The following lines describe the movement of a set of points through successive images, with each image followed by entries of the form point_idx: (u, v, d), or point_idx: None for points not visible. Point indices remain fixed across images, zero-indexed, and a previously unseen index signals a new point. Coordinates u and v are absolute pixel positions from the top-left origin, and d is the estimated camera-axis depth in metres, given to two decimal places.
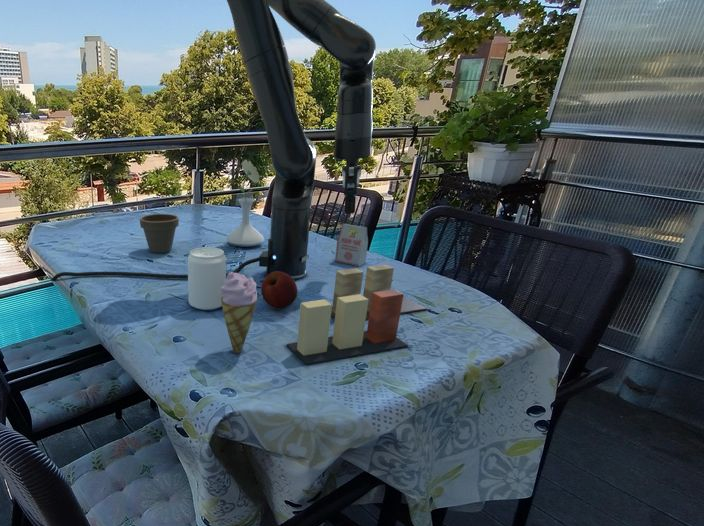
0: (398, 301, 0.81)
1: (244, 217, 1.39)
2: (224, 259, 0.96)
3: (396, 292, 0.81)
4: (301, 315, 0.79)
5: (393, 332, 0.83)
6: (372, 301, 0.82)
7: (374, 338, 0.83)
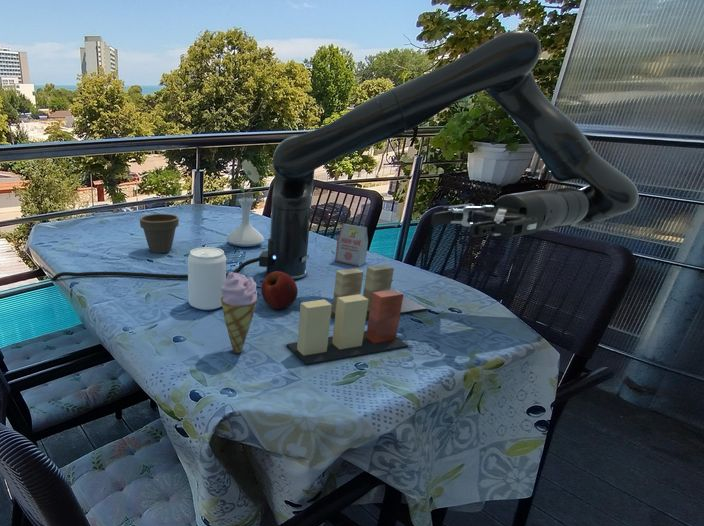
0: (398, 301, 0.81)
1: (244, 217, 1.39)
2: (224, 259, 0.96)
3: (396, 292, 0.81)
4: (301, 315, 0.79)
5: (393, 332, 0.83)
6: (372, 301, 0.82)
7: (374, 338, 0.83)
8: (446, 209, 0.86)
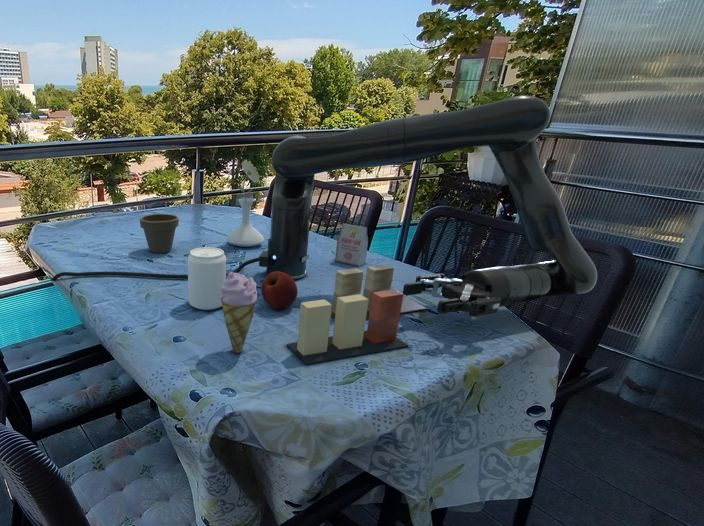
0: (398, 301, 0.81)
1: (244, 217, 1.39)
2: (224, 259, 0.96)
3: (396, 292, 0.81)
4: (301, 315, 0.79)
5: (393, 332, 0.83)
6: (372, 301, 0.82)
7: (374, 338, 0.83)
8: (418, 279, 0.90)
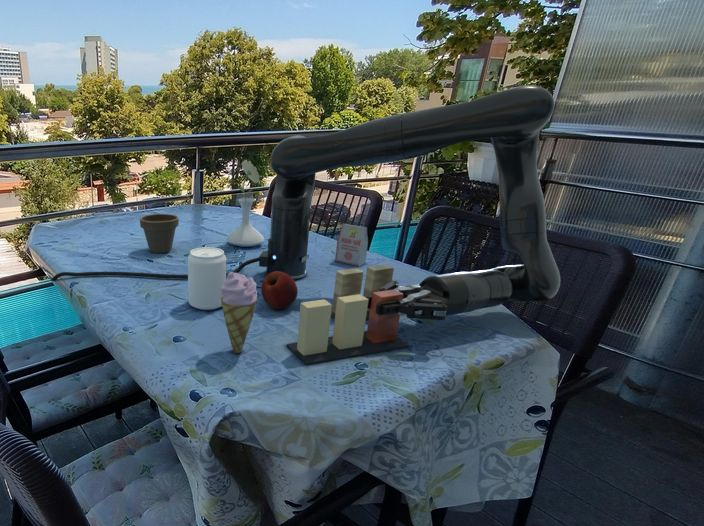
0: None
1: (244, 217, 1.39)
2: (224, 259, 0.96)
3: (396, 292, 0.81)
4: (301, 315, 0.79)
5: (393, 332, 0.83)
6: (372, 301, 0.82)
7: (374, 338, 0.83)
8: None
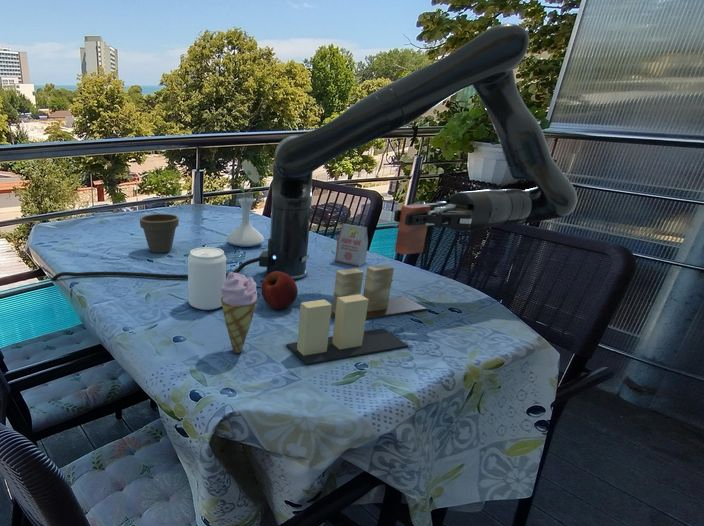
0: None
1: (244, 217, 1.39)
2: (224, 259, 0.96)
3: (424, 205, 0.87)
4: (301, 315, 0.79)
5: (420, 244, 0.89)
6: (401, 214, 0.88)
7: (403, 249, 0.89)
8: None
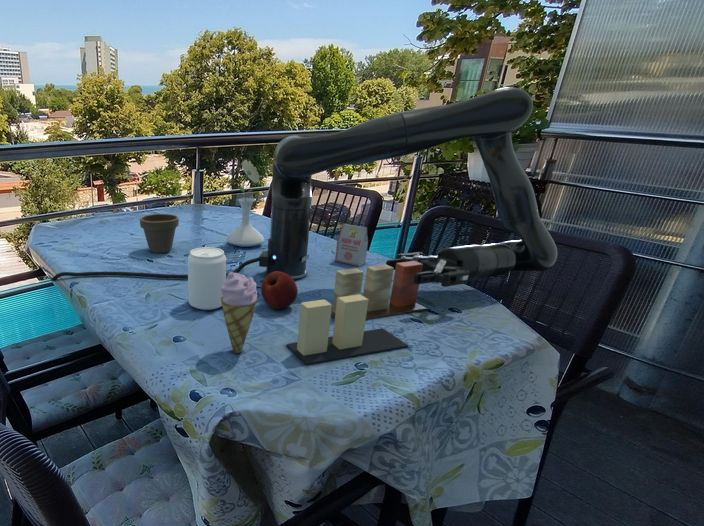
0: (418, 270, 0.95)
1: (244, 217, 1.39)
2: (224, 259, 0.96)
3: (416, 263, 0.95)
4: (301, 315, 0.79)
5: (413, 298, 0.97)
6: (396, 270, 0.96)
7: (397, 302, 0.97)
8: (399, 256, 1.01)
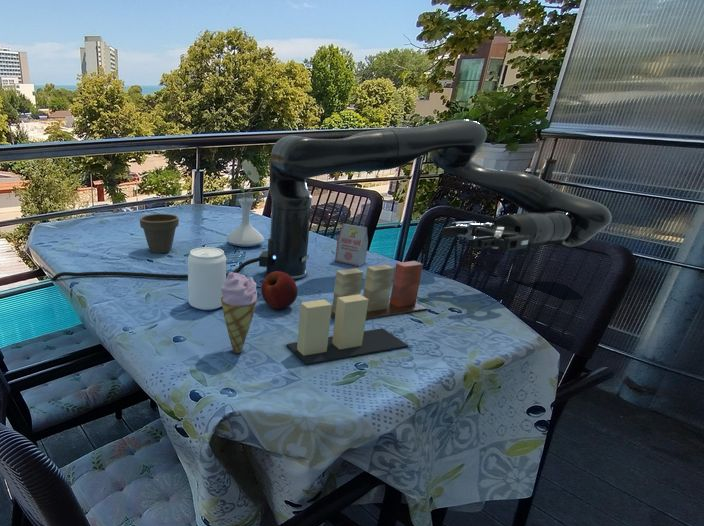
0: (418, 270, 0.95)
1: (244, 217, 1.39)
2: (224, 259, 0.96)
3: (416, 263, 0.95)
4: (301, 315, 0.79)
5: (413, 298, 0.97)
6: (396, 270, 0.96)
7: (397, 302, 0.97)
8: (454, 224, 1.02)
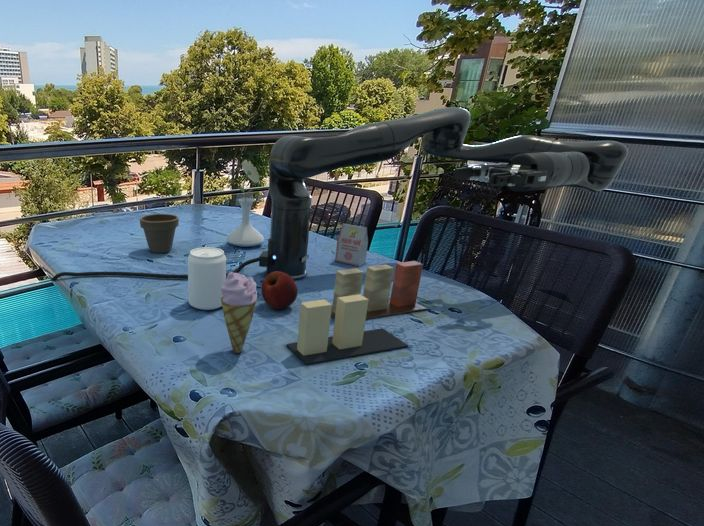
0: (418, 270, 0.95)
1: (244, 217, 1.39)
2: (224, 259, 0.96)
3: (416, 263, 0.95)
4: (301, 315, 0.79)
5: (413, 298, 0.97)
6: (396, 270, 0.96)
7: (397, 302, 0.97)
8: (466, 167, 0.97)
